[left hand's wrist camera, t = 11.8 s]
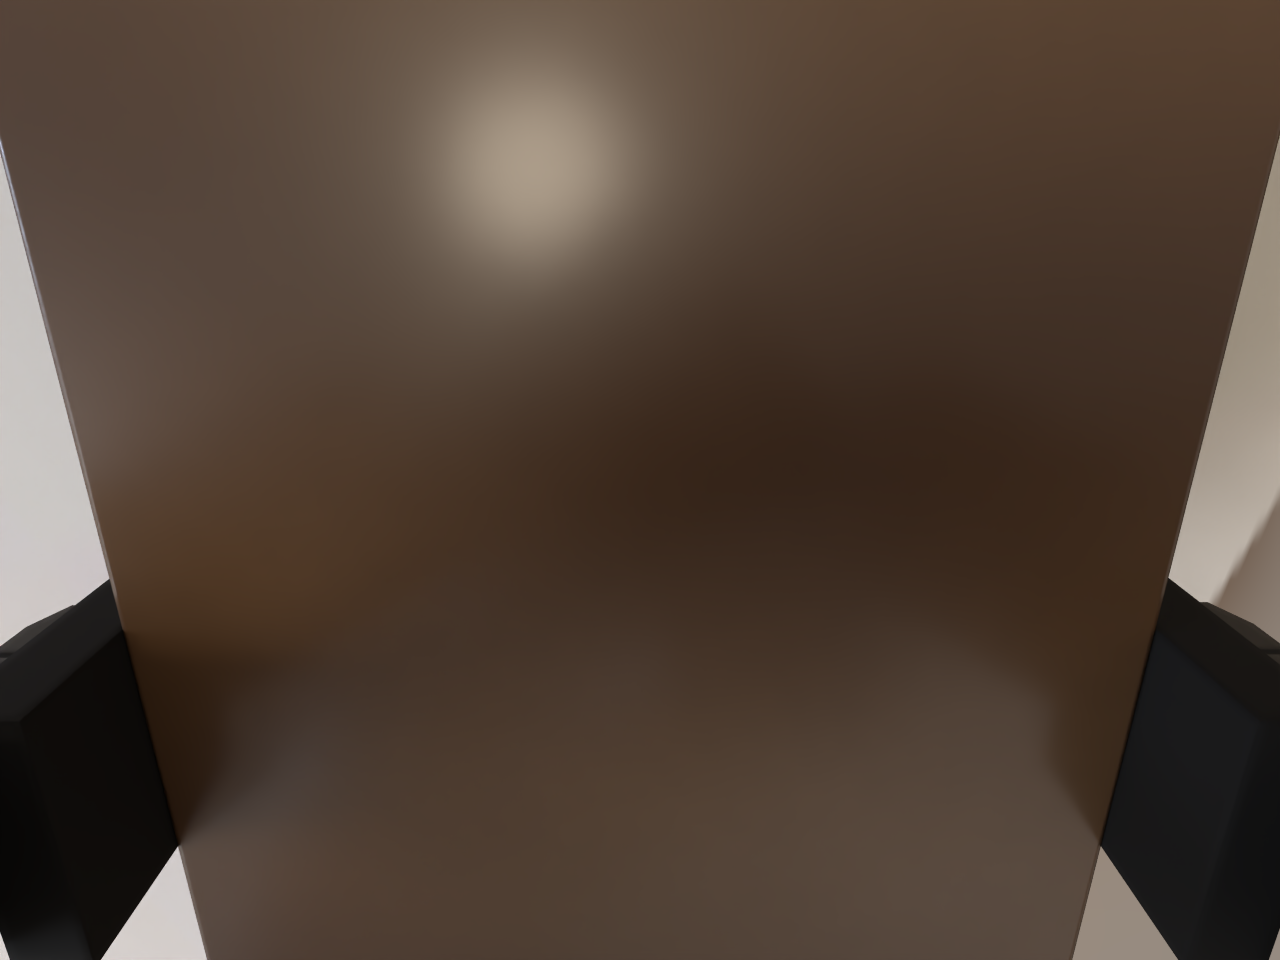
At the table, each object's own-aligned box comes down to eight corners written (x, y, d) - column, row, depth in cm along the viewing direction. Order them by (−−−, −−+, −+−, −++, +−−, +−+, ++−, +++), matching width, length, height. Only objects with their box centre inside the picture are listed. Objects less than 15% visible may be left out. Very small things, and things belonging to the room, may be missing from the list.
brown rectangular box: (298, -487, 12) (-618, -2216, 3) (975, -487, 12) (1882, -2221, 3) (421, 631, 19) (227, 1052, 10) (857, 630, 19) (1052, 1050, 10)
